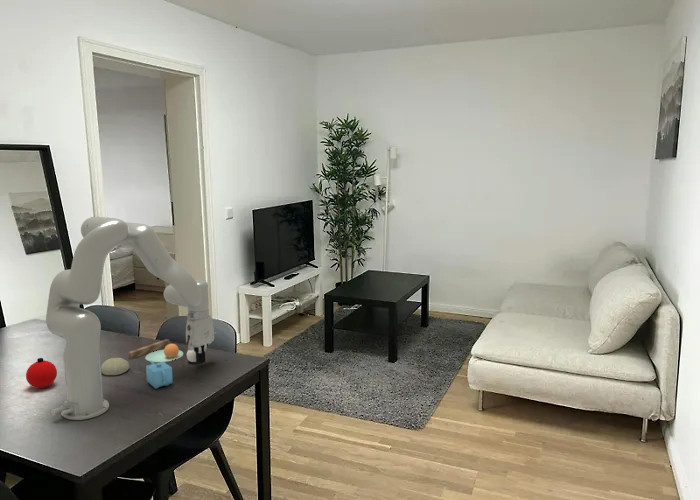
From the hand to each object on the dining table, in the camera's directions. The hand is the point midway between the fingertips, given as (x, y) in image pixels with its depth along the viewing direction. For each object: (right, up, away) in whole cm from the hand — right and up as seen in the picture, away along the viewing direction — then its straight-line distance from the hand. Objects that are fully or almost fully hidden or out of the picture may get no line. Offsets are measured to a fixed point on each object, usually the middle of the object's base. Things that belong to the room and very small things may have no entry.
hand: (200, 361), depth 196 cm
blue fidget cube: (-10, -4, -16) cm, 19 cm away
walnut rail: (-24, +1, +15) cm, 29 cm away
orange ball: (-14, +3, +8) cm, 16 cm away
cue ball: (-4, +2, +4) cm, 6 cm away
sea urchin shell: (-29, -3, -5) cm, 30 cm away
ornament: (-48, -5, -19) cm, 51 cm away
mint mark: (-17, 0, +10) cm, 20 cm away
